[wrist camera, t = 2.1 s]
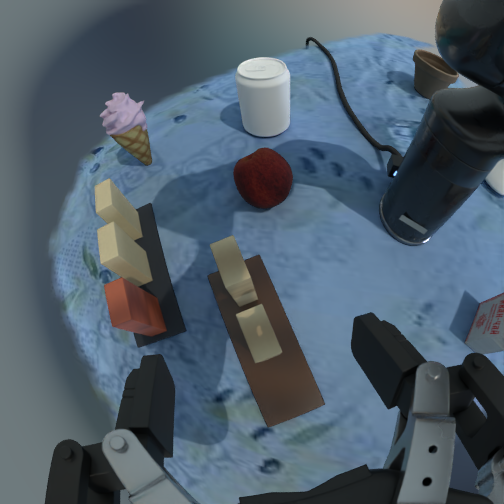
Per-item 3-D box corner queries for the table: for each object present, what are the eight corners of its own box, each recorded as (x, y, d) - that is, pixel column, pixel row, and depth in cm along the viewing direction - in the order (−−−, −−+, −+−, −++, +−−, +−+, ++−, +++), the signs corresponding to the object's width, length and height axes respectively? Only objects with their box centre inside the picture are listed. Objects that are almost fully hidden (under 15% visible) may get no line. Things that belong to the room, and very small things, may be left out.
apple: (273, 166, 40) (271, 127, 32) (303, 202, 37) (308, 165, 30) (230, 188, 39) (220, 151, 32) (257, 228, 36) (251, 194, 29)
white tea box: (493, 315, 27) (536, 298, 18) (478, 354, 26) (524, 346, 17) (479, 303, 28) (523, 282, 19) (464, 342, 27) (511, 331, 18)
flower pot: (445, 93, 47) (457, 65, 37) (446, 113, 43) (461, 82, 34) (406, 74, 50) (415, 44, 40) (403, 92, 46) (413, 58, 37)
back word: (113, 222, 39) (81, 189, 30) (151, 203, 39) (124, 166, 31) (139, 347, 31) (96, 340, 23) (186, 331, 32) (154, 319, 23)
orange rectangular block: (142, 304, 33) (103, 285, 25) (157, 297, 33) (122, 276, 25) (150, 336, 31) (112, 326, 23) (167, 330, 31) (131, 319, 23)
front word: (208, 276, 34) (184, 246, 25) (259, 255, 35) (253, 219, 26) (268, 426, 26) (264, 452, 18) (324, 403, 27) (343, 420, 18)
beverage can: (286, 141, 42) (286, 81, 30) (238, 137, 43) (227, 79, 32) (292, 112, 44) (292, 57, 33) (248, 109, 46) (241, 55, 35)
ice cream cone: (168, 144, 44) (138, 78, 30) (168, 170, 42) (132, 100, 28) (134, 155, 44) (98, 95, 30) (132, 181, 42) (89, 119, 28)
